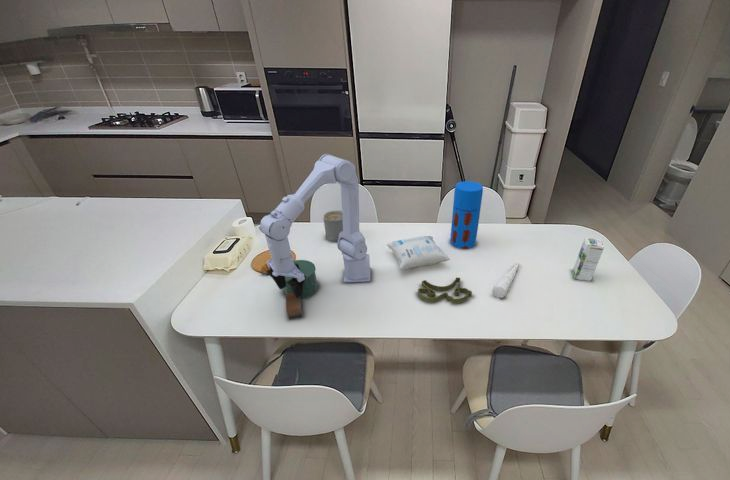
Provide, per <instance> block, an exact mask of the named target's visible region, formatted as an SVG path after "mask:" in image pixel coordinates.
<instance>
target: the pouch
mask: <svg viewBox="0 0 730 480" xmlns="http://www.w3.org/2000/svg"><path fill="white" fill-rule="evenodd" d="M433 237H434V236H431V235H425V236H423V235H422V236H417V237H411V238H403V239H399V240H395V241H394V240H393V241H390V242H389V243H386V244H385V246H387V247H388V248H389V250H391V251H392V253H393V254H394V255H395V257H396V258H397V260H398V263H399V269H403V270H405V269H413V268H418V267H423V266H429V265H434V264H440V263H444V262H447V261H451V257H450V256H448V255H447V254H446V253H445V251H443V250H442V249H441V248H440V247H439V246H438V245H437V244H436V242H435V241H434V239H433Z"/></svg>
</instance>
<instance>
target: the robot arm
mask: <svg viewBox="0 0 730 480" xmlns="http://www.w3.org/2000/svg"><path fill="white" fill-rule="evenodd" d="M329 184H330V185H333V184H339V185H340V194H341V211H342V219H343V231H342V232H340V233H339V240H338V242H336V243H337V244H336V246H337V249H338V250H339V251H340V252H341V255H342V261H343V267H344V276H343V283H364V282H371V273H372V267H371V262H370V260H371V259H370V254H369V253H368V245H367V244H366V237H364V235H363V233H362V232H361V231H360V191H359V189H360V188H359V185H360V184H359V178H358V175H357V173H356V165H355V164H353V163H352V162H351V161H349V160H348V159H343V158H340V157H337V156H334V155H332V154H330V153H324V154H322V155H321V156H320V157H319V158H318V160H317V161H315V163H314V166H313V170H312V171H311V172H310V174H309V175H308V176H307V177H306V179H305V180H304V182H303V183H302V184H301V185H300V186H299V188H297V190H296V191H295V193H292V194H287V196H283V198H281V202H280V203H279V204H278V205H277V206H276V207H275V208H274V210H272V211H271V212H270V213H269V214H267V215H264V216H263V217H262V218H261V220H260V223H259V226H258V229H259V231H260V232H261V233H263V234H264V236H265V240H266V244H267V248H268V251H269V255H270V259H268V260H266V264H267V266H268V267H270V270H268V271H267V274H266V275H269V276H270V278H272V280H273V282H274V283H275V285H276V286H277V288H278V289H279V290H283V289H282V288H284V287H286V281H285V276H287V277H292V279H291V280H289V281H288V282H287V283H288V284H289V285H290V287H291V288H292V290H293V293H294V295H295V297H296V298H298V297H300V296H301V295H302V291H303V285H304V282H305V280H306V276H305V275H304V274H303V273H301V272H300V271H299V269H298V268H297V267H296V266H295V264H294V262H293V261H294V258H293V254H292V249H291V246H290V242H289V235H290V232H291V227H292V225H293V223H294V222H295V221H296V220H297V218H298V217H299V216H300V215H301V214H302V213H303V212H304V211H305V203H306V202H307V201H308V200H309V199H311V197H312V196H313V195H314V194H315V193H316V192H317V191H318V190H319V189H320V188H321V187H322V186H323V185H329Z"/></svg>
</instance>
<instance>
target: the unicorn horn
mask: <svg viewBox="0 0 730 480" xmlns="http://www.w3.org/2000/svg"><path fill="white" fill-rule="evenodd" d="M518 269H519V263H516V264H515V265H514V266H513V267H512V268H511V269H509V270H508V272H506V274H504V276H502V277H501V279H499V281H498V282H496V284H495V285H494V286H493V287H492V289H491V292H492V294H493V296H495V297H496V298H499V299H502V298H504V297H505V296H506V295H507V293H508V292H509V288H510V287H511V285H512V283H513V280H514V278H515V275H516V273H517V271H518Z"/></svg>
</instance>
